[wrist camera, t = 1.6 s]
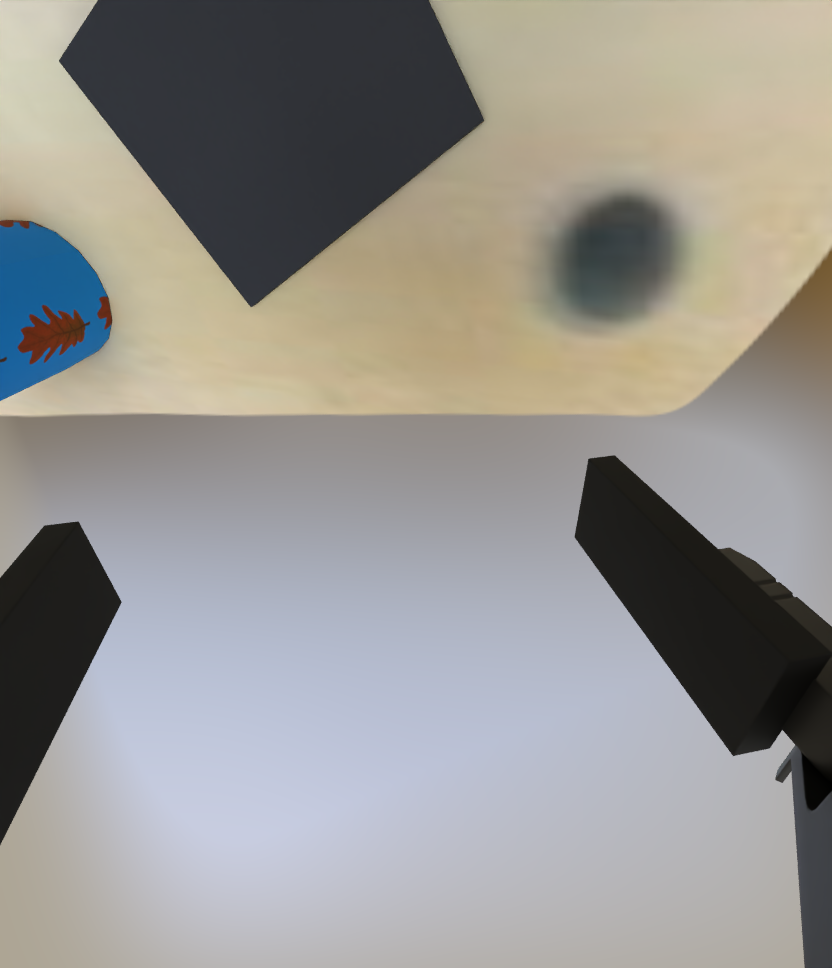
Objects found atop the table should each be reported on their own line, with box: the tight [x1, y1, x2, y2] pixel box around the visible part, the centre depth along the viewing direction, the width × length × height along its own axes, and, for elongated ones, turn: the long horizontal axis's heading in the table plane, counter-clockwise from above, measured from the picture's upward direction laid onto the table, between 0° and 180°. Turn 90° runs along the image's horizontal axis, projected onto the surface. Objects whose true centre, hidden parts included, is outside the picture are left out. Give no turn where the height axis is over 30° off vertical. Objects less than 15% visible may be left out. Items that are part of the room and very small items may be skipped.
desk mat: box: [59, 0, 484, 307], centre depth 28 cm, size 17×20×1 cm
